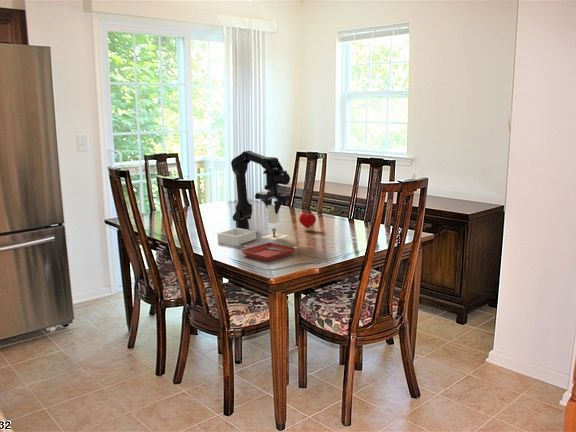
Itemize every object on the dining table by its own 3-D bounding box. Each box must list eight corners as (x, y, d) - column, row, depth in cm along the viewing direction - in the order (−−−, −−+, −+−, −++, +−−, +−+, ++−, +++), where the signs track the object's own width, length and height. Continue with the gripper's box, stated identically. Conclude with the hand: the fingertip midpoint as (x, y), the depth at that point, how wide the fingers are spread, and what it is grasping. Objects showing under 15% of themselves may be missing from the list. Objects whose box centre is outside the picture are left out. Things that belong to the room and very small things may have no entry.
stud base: (260, 239, 287) (260, 229, 286) (272, 235, 294) (272, 225, 293) (276, 241, 281) (275, 231, 280) (287, 237, 289) (287, 227, 288)
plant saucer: (240, 256, 258) (240, 249, 257) (269, 248, 270) (269, 241, 269) (267, 264, 245) (267, 256, 244) (296, 255, 257) (296, 248, 256)
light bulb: (318, 231, 300) (318, 212, 298) (312, 234, 294) (312, 215, 292) (303, 229, 304) (302, 211, 302) (296, 232, 299) (296, 214, 296)
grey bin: (217, 242, 282) (217, 233, 281) (236, 237, 292) (235, 227, 291) (238, 246, 274) (237, 236, 273) (256, 240, 284) (255, 230, 283)
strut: (267, 222, 285) (267, 205, 284) (272, 221, 289) (272, 203, 287) (274, 223, 283) (273, 205, 281) (278, 221, 286) (278, 204, 284)
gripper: (247, 184, 281) (248, 214, 284) (277, 186, 270) (278, 218, 273) (261, 180, 290) (262, 210, 293) (290, 183, 279) (291, 214, 282)
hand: (273, 213), depth 285 cm, fingers closed on strut, 4 cm apart
